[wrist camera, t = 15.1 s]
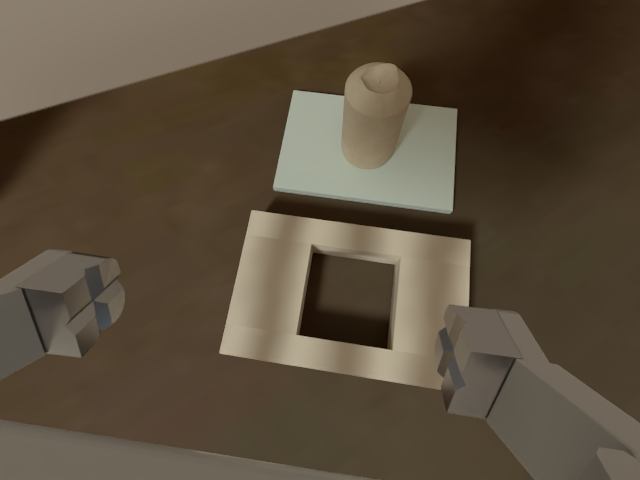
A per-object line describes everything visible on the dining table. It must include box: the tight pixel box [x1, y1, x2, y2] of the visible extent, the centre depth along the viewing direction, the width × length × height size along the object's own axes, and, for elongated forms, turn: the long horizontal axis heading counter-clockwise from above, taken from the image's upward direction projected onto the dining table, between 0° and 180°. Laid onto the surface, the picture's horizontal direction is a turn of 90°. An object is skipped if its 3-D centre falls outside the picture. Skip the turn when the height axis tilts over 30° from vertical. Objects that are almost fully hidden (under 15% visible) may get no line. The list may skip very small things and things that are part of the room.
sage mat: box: [273, 90, 457, 214], centre depth 38 cm, size 18×12×1 cm, turn 81°
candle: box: [341, 62, 412, 169], centre depth 33 cm, size 6×6×10 cm
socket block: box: [219, 210, 471, 390], centre depth 32 cm, size 20×13×3 cm, turn 81°
